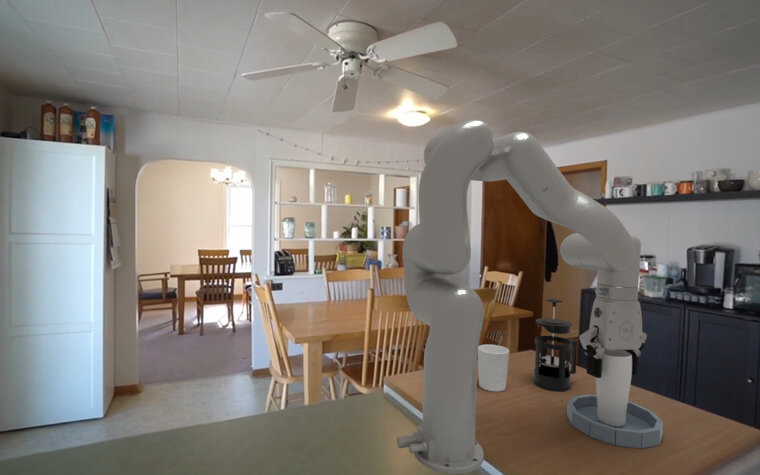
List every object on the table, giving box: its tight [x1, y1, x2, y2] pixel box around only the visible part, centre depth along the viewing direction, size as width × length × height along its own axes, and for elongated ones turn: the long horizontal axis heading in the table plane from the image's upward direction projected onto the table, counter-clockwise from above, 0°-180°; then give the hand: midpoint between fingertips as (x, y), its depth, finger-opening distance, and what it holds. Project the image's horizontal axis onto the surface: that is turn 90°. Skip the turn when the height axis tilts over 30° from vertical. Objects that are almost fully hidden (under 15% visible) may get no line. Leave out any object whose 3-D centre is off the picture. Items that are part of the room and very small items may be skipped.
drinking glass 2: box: [594, 348, 633, 427], centre depth 85 cm, size 7×7×15 cm
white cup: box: [477, 344, 510, 393], centre depth 105 cm, size 8×8×10 cm
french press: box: [532, 298, 578, 392], centre depth 107 cm, size 12×9×23 cm
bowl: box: [566, 394, 664, 449], centre depth 85 cm, size 17×17×3 cm
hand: (611, 374), depth 84 cm, fingers open, 9 cm apart
